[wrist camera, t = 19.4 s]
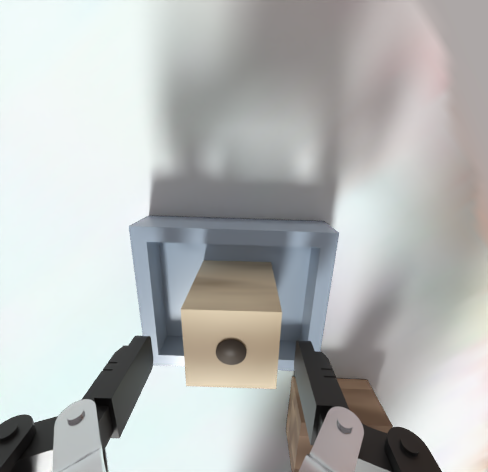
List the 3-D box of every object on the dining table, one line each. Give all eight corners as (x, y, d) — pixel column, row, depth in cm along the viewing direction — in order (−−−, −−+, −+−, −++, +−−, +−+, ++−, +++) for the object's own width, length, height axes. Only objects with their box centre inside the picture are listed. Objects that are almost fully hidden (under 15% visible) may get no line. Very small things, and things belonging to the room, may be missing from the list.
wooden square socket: (354, 431, 24) (374, 483, 20) (285, 428, 24) (292, 479, 20) (367, 379, 22) (392, 426, 18) (292, 376, 22) (301, 422, 18)
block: (267, 319, 19) (276, 390, 13) (205, 317, 19) (185, 387, 13) (271, 262, 17) (282, 313, 11) (203, 260, 17) (180, 310, 11)
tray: (307, 342, 20) (317, 371, 18) (160, 336, 21) (146, 364, 18) (323, 221, 17) (339, 232, 14) (148, 215, 17) (128, 226, 14)
